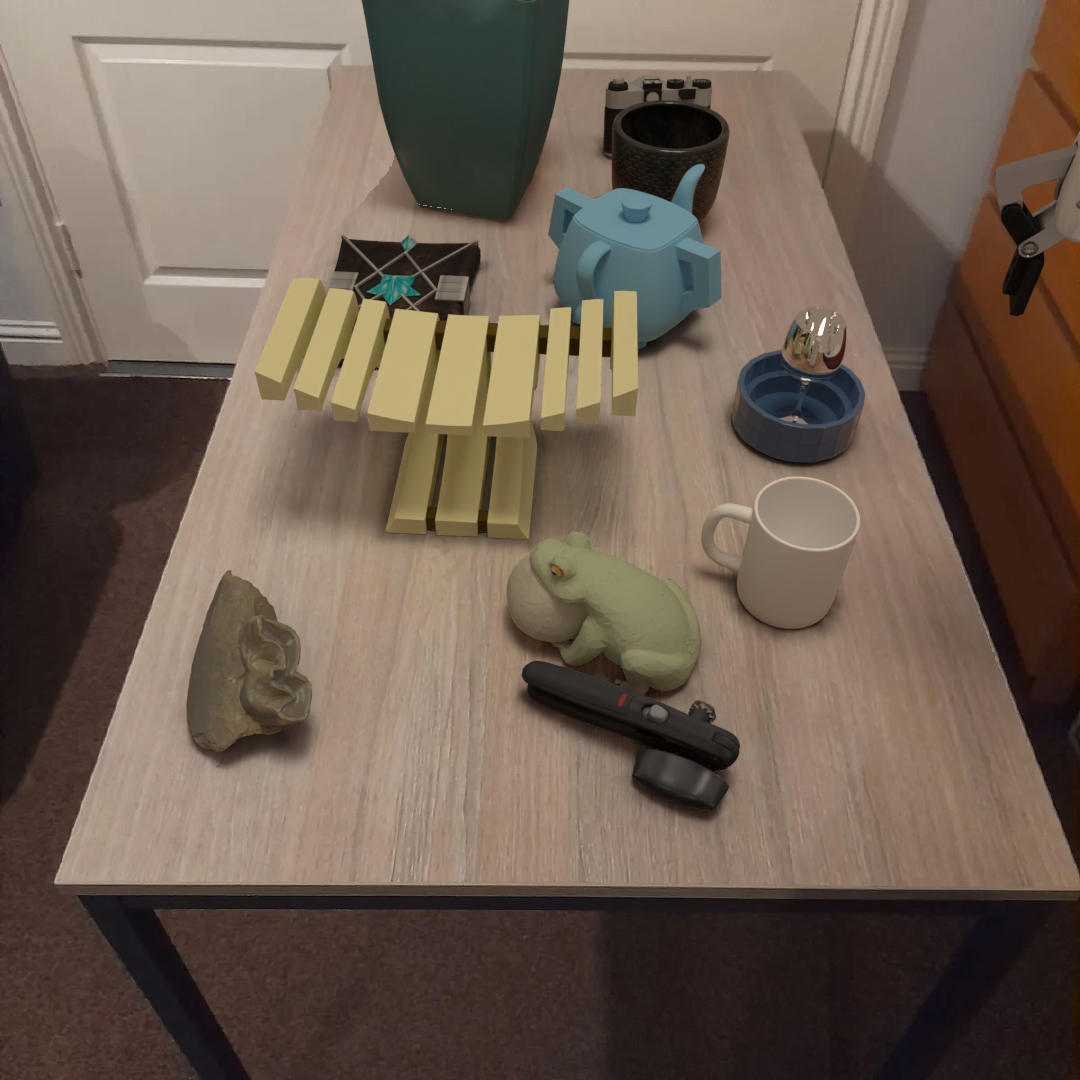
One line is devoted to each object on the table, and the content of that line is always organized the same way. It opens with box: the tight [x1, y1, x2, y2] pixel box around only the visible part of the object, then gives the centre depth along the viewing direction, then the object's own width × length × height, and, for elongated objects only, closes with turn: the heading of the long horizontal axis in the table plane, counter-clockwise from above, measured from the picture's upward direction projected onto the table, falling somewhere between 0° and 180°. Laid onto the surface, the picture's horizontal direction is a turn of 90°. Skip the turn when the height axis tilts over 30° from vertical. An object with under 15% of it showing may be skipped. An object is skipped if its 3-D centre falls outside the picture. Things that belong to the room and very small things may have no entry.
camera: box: [602, 74, 713, 157], centre depth 140 cm, size 15×11×10 cm
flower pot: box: [361, 0, 570, 222], centre depth 123 cm, size 20×20×28 cm
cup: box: [700, 475, 861, 630], centre depth 83 cm, size 8×12×10 cm
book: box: [324, 234, 482, 364], centre depth 113 cm, size 22×17×5 cm
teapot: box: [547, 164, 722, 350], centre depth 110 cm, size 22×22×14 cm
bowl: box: [730, 349, 866, 463], centre depth 100 cm, size 12×12×5 cm
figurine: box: [506, 530, 702, 696], centre depth 79 cm, size 10×16×10 cm, turn 66°
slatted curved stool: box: [254, 277, 639, 540], centre depth 90 cm, size 30×16×18 cm, turn 87°
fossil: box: [185, 569, 313, 753], centre depth 76 cm, size 14×10×10 cm
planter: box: [611, 100, 731, 224], centre depth 124 cm, size 14×14×13 cm
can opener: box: [521, 660, 741, 811], centre depth 75 cm, size 18×7×6 cm, turn 58°
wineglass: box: [774, 306, 847, 424], centre depth 97 cm, size 6×6×12 cm
